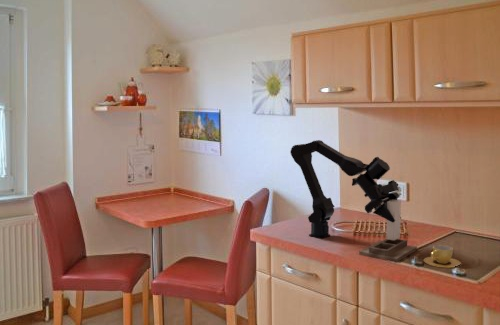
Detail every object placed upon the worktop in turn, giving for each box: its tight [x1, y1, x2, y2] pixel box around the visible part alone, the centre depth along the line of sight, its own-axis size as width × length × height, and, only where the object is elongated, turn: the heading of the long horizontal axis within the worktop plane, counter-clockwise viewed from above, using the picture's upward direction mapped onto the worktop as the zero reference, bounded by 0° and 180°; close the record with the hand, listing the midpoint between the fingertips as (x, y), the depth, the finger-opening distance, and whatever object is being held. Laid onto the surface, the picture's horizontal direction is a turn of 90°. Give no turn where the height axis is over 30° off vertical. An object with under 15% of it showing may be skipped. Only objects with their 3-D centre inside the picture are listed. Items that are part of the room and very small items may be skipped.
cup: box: [423, 244, 462, 269], centre depth 174 cm, size 12×12×5 cm
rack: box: [358, 238, 418, 263], centre depth 185 cm, size 14×18×3 cm
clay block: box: [385, 199, 402, 240], centre depth 187 cm, size 3×5×14 cm, turn 140°
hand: (397, 220), depth 187 cm, fingers closed on clay block, 5 cm apart
